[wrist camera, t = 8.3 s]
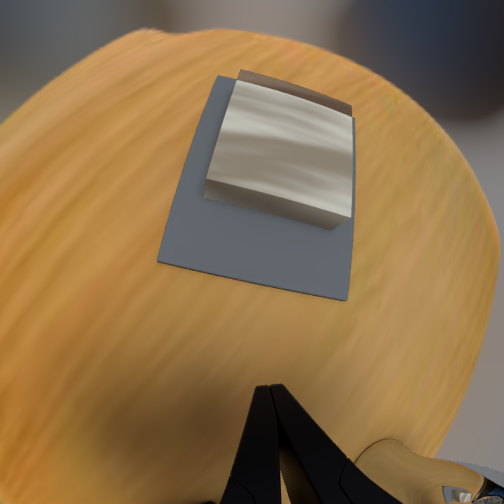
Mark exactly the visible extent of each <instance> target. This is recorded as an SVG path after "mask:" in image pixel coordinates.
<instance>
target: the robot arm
mask: <svg viewBox="0 0 504 504" xmlns="http://www.w3.org/2000/svg"><path fill="white" fill-rule="evenodd" d="M346 458H347V456H346V455H345V454H344V453H343V452H342V451H341V450H340V448H339V447H338V446H337V445H336V444H335V443H334V442H333V441H332V440H331V439H330V438H329V437H328V435H327V434H326V433H325V432H324V431H323V430H322V429H321V428H320V427H319V425H318V424H317V423H316V422H315V421H314V420H313V419H312V418H311V416H310V415H309V414H308V413H307V412H306V411H305V410H304V408H303V407H302V406H301V405H300V404H299V403H298V401H297V400H296V399H295V398H294V397H293V396H292V394H291V393H290V392H289V391H288V390H287V388H286V387H285V386H284V385H283V384H272V385H270V386H268V385H261V386H256V387H255V391H254V394H253V398H252V401H251V405H250V409H249V412H248V416H247V419H246V423H245V426H244V430H243V433H242V436H241V440H240V443H239V447H238V450H237V453H236V456H235V460H234V463H233V466H232V470H231V473H230V476H229V479H228V482H227V485H226V488H225V491H224V493H223V496H222V499H221V501H220V503H219V504H281V481H280V469H281V473H282V476H283V479H284V483H285V486H286V489H287V493H288V496H289V499H290V502H291V504H403V503H402V502H401V501H399V500H398V499H396V498H395V497H393V496H392V495H391V494H389V493H388V492H387V491H385V490H384V489H382V488H381V487H380V486H378V485H377V484H376V483H375V482H373V481H372V480H371V479H370V478H369V477H367V476H366V475H365V474H364V473H363V472H362V471H361V470H360V469H359V468H358V467H357V466H356V465H355V464H354V463H353V462H352V461H351V460H350V459H349V458H347V459H346ZM203 504H216V503H214V502H212V501H208V502H205V503H203Z"/></svg>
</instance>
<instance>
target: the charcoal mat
mask: <svg viewBox="0 0 504 504" xmlns="http://www.w3.org/2000/svg"><path fill="white" fill-rule="evenodd" d="M236 81H237V79H233V78H228V77H224V76H219V75H218V76H217V79H216V81H215V83H214V86H213V88H212V91H211V93H210V96H209V98H208V101H207V103H206V106H205V109H204V111H203V114H202V117H201V119H200V122H199V125H198V127H197V130H196V133H195V136H194V139H193V141H192V144H191V147H190V150H189V153H188V156H187V159H186V162H185V165H184V168H183V171H182V174H181V177H180V181H179V184H178V187H177V190H176V194H175V197H174V200H173V204H172V207H171V210H170V214H169V217H168V221H167V225H166V228H165V232H164V236H163V239H162V243H161V247H160V251H159V255H158V259H157V261H158V262H160V263H164V264H168V265H172V266H177V267H181V268H185V269H190V270H194V271H199V272H203V273H208V274H212V275H217V276H221V277H226V278H231V279H235V280H240V281H245V282H250V283H254V284H259V285H264V286H269V287H274V288H279V289H284V290H289V291H294V292H299V293H304V294H309V295H314V296H320V297H325V298H330V299H336V300H341V301H347V299H348V291H349V281H350V271H351V260H352V247H353V232H354V212H355V174H356V153H355V118H354V117H352V139H353V174H352V208H351V218H350V219H348V220H347V221H345V222H344V223H342V224H341V225H339V226H338V227H336V228H335V229H333V230H328V229H325V228H321V227H318V226H314V225H310V224H307V223H303V222H299V221H295V220H292V219H288V218H284V217H280V216H276V215H272V214H269V213H265V212H261V211H257V210H253V209H249V208H245V207H241V206H236V205H232V204H228V203H224V202H220V201H215V200H211V199H207V198H203V196H204V189H205V182H206V177H207V173H208V170H209V166H210V163H211V159H212V156H213V153H214V149H215V146H216V143H217V139H218V136H219V133H220V130H221V126H222V123H223V120H224V117H225V114H226V111H227V108H228V105H229V102H230V99H231V96H232V93H233V90H234V87H235V84H236Z"/></svg>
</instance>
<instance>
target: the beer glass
mask: <svg viewBox="0 0 504 504" xmlns="http://www.w3.org/2000/svg"><path fill="white" fill-rule="evenodd" d="M355 465H356V466H357V467H358V468H359V469H360V470H361V471H362V472H363V473H364V474H365V475H366V476H367V477H369V478H370V479H371V480H372V481H373V482H375V483H376V484H377V485H378V486H380V487H381V488H382V489H384V490H385V491H387V492H388V493H389V494H391V495H392V496H393V497H395V498H396V499H398V500H399V501H401V502H402V503H403V504H504V473H503V472H501V471H497V470H494V469H491V468H488V467H484V466H480V465H476V464H471V463H465V462H459V461H451V460H443V459H435V458H429V457H424V456H421V455H418V454H416V453H414V452H412V451H411V450H410V449H408V448H407V447H406V446H405V445H403V444H402V443H401V442H399V441H397V440H395V439H384V440H381V441H379V442H377V443H375V444H373V445H372V446H370V447H369V448H368V449H366V450H365V451H364V452H363V453H362V454H361V455H360V457H359V458H358V459H357V461H356V462H355Z"/></svg>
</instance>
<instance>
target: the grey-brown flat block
mask: <svg viewBox="0 0 504 504" xmlns="http://www.w3.org/2000/svg"><path fill="white" fill-rule="evenodd" d="M352 174H353V139H352V106H351V105H349V104H346V103H344V102H342V101H339V100H337V99H334V98H331V97H329V96H326V95H324V94H321V93H318V92H315V91H313V90H310V89H307V88H304V87H301V86H298V85H295V84H292V83H289V82H285V81H282V80H279V79H275V78H272V77H269V76H265V75H261V74H258V73H254V72H250V71H246V70H242V69H240V72H239V75H238V78H237V81H236V84H235V87H234V90H233V93H232V96H231V99H230V102H229V105H228V108H227V111H226V114H225V117H224V120H223V123H222V126H221V130H220V133H219V136H218V139H217V143H216V146H215V149H214V153H213V156H212V159H211V163H210V166H209V170H208V173H207V177H206V182H205V189H204V196H203V198H207V199H211V200H215V201H220V202H224V203H228V204H232V205H236V206H241V207H245V208H249V209H253V210H257V211H261V212H265V213H269V214H272V215H276V216H280V217H284V218H288V219H292V220H295V221H299V222H303V223H307V224H310V225H314V226H318V227H321V228H325V229H328V230H333V229H335V228H336V227H338V226H339V225H341V224H342V223H344V222H345V221H347V220H348V219H350V218H351V208H352Z"/></svg>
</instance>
